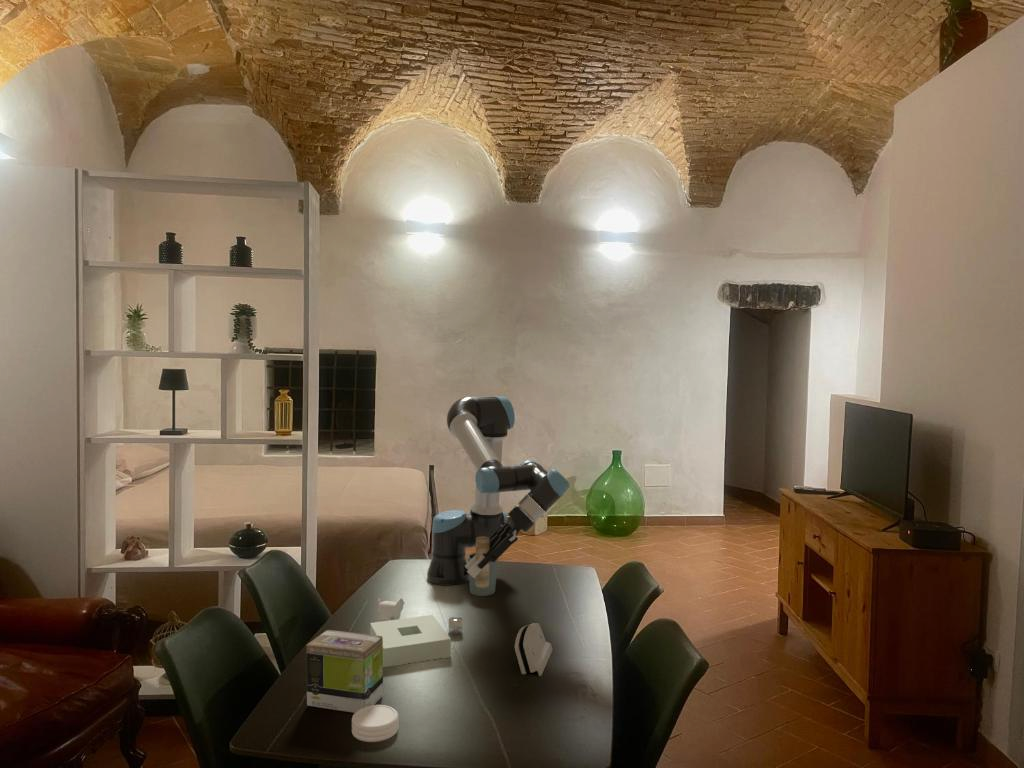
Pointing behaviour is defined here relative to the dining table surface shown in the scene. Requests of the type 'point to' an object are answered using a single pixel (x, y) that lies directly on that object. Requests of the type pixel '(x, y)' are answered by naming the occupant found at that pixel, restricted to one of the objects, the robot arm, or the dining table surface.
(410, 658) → the sage block
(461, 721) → the dining table surface
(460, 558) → the robot arm
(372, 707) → the coaster
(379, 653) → the tea box
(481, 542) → the maple pin
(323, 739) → the dining table surface
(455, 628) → the steel stub
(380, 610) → the elephant figurine
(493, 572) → the grey blue cup
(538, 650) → the magnetic window cleaner
